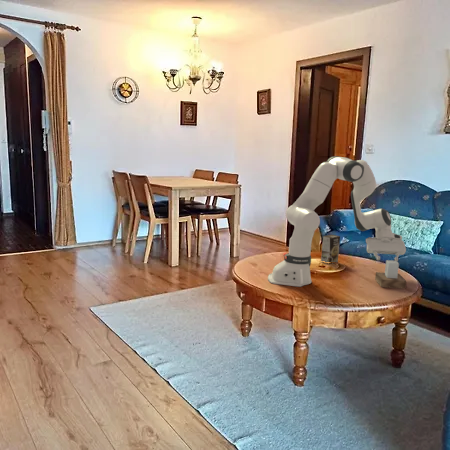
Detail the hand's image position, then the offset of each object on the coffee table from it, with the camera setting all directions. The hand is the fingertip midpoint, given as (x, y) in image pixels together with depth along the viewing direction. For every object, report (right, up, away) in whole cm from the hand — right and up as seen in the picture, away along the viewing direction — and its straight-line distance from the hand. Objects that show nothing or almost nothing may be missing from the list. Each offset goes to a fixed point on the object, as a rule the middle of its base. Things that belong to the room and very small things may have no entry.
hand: (387, 260), depth 231 cm
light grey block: (-1, -8, -8) cm, 11 cm away
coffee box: (-24, -4, +28) cm, 38 cm away
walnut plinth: (-1, -12, -7) cm, 14 cm away
